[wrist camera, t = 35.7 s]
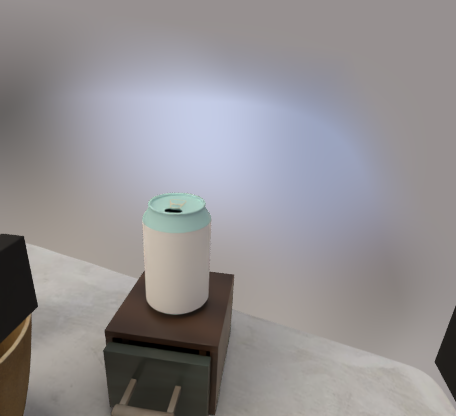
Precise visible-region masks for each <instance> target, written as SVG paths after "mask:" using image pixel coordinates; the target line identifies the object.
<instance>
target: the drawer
mask: <svg viewBox="0 0 456 416" xmlns="http://www.w3.org/2000/svg"><path fill="white" fill-rule="evenodd" d="M103 352H104V360H105V369H106V377H107V386H108V394H109V402H110V407H113V410H112V413H111V416H208V414H209V396H210V372H211V357H210V351H203V350H197V349H190V348H183V347H176V346H169V345H162V344H156V343H149V342H142V341H135V340H128V339H122V344H121V343H114V342H108V344H107V345H106V347H105V349H104V350H103Z"/></svg>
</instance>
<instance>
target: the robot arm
mask: <svg viewBox="0 0 456 416" xmlns="http://www.w3.org/2000/svg"><path fill="white" fill-rule="evenodd" d="M37 307H38V304H37V299H36V294H35V289H34V284H33V279H32V274H31V269H30V264H29V259H28V254H27V249H26V244H25V240H24V236H17V235H9V234H0V343H1V342H2V341H3V340H4V339H6V338H7V337H8V336H9V335H10V334H11V333H12V332H13V331H14V330H15V329H16V328H17V327H18V326H19V325H20V324H21V323H22V322H23V321H24V320H25V319H26V318H27V317H28V316H29V315H30V314H31V313H32V312H33V311H34V310H35V309H36V308H37ZM435 364H436V365H437V367H438V369H439V371H440V373H441V375H442V377H443V378H444V380H445V382H446V384H447V386H448V388H449V390H450V391H451V393H452V395H453V397H454V399H455V401H456V306H455V309H454V312H453V314H452V317H451V320H450V322H449V325H448V328H447V331H446V333H445V336H444V339H443V341H442V344H441V346H440V349H439V352H438V354H437V357H436V360H435Z"/></svg>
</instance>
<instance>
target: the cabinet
mask: <svg viewBox="0 0 456 416" xmlns="http://www.w3.org/2000/svg"><path fill="white" fill-rule="evenodd" d="M233 285H234V275H232V274H224V273H216V272H209V295H208V299H207V301H206V302H205V303H204V304H203V305H202V306H201V307H200V308H198V309H196V310H194V311H192V312H189V313H185V314H177V315H174V314H166V313H163V312H160V311H157V310H155V309H154V308H152V307H151V306H150V305H149V304H148V302H147V299H146V284H145V271H144V272H143V274H142V275H141V277H140V278H139V280H138V281H137V283H136V284H135V285H134V287H133V288H132V290H131V291H130V293H129V294H128V296H127V297H126V299H125V300H124V302H123V303H122V305H121V306H120V308H119V309H118V311H117V312H116V314H115V315H114V317H113V318H112V320H111V321H110V323H109V324H108V326H107V327H106V329H105V338H106V345H107V344H108V342H114V343H121V344H122V339H128V340H135V341H142V342H149V343H156V344H162V345H169V346H176V347H183V348H190V349H197V350H203V351H210V357H211V372H210V396H209V414H212V415H215V412H216V407H217V402H218V396H219V391H220V385H221V380H222V375H223V369H224V364H225V358H226V353H227V348H228V342H229V337H230V330H231V315H232V300H233Z"/></svg>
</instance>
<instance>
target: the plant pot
mask: <svg viewBox="0 0 456 416" xmlns="http://www.w3.org/2000/svg"><path fill="white" fill-rule="evenodd" d="M31 328H32V322H31V314H30V315H29V316H28V317H27V318H26V319H25V320H24V321H23V322H22V323H21V324H20V325H19V326H18V327H17V328H16V329H15V330H14V331H13V332H12V333H11V334H10V335H9V336H8V337H7V338H6V339H4V340H3V341H2V342H1V343H0V416H23V414H24V409H25V403H26V397H27V390H28V383H29V373H30V359H31Z"/></svg>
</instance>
